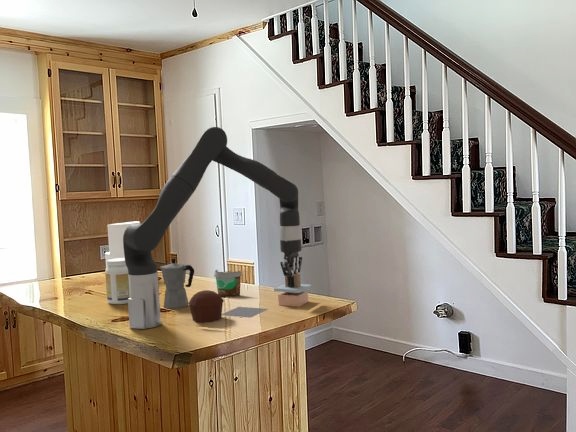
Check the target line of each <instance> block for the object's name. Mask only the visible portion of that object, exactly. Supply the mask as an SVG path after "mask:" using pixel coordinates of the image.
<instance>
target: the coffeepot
mask: <svg viewBox="0 0 576 432" xmlns="http://www.w3.org/2000/svg"><path fill="white" fill-rule="evenodd" d="M170 260H171V263H169V264H165V265H162V266H159V267H158V268H159V269H160V270H161V273H162V278H163V284H164V286H165V291H164V301H163V307H164V308H165V309H169V310H173V309H175V310H176V309H182V308H183V309H184V308H186V307H188V306H189V299H188V296H187V295H188V294H187V291H186V288H190V287H191V286H192V282H193V277H194V275H195V269H194V268H193V266H192V265H191V264H181V263H176V258H173V257H172V258H170ZM187 271H189V273H188V274H189V275H188V280H187V281H188V282H187V284H185V283H186V274H187V273H186V272H187ZM185 287H186V288H185Z"/></svg>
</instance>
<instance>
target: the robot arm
mask: <svg viewBox="0 0 576 432" xmlns="http://www.w3.org/2000/svg"><path fill="white" fill-rule="evenodd" d="M212 161H213V162H215V163H218V164H219V165H222V166H224V167H226V168H229V169H230V170H232V171H234V172H236V173H238V174H240V175H242V176H243V177H245V178H247V179H249V180H250V181H252V182H253V183H254V184H256V185H258V186H260V187H261V188H263V189H264V190H266V191H268V192H270V193H271V194H272V195H274V196H275V197H277V198H278V199H279V226H280V227H279V243H280V244H279V245H280V246H279V247H280V248H279V249H280V252H281V253H284V255H283V256H284V257H283V261H280V267H281V270H282V274H283V276H284V277H285V276H287V277H288V287H294V274H300V273H301V268H302V264H303V263H302V262H303V256H299V253H300V252H302V250H303V249H302V232H301V230H302V229H301V221H300V213H299V189H298V187H297V185H296V184H295V183H293V182H291V181H290V180H288V179H286V178H284V177H283V176H281V175H279V174H278V173H277V172H275V171H274V169H271V168H270V167H268V166H266V165H265V164H263V163H262V162H259V161H257V160H254V159H251V158H247V157H245V156H242V155H240V154H238V153H235V152H234V151H233V150H232V149H230V148H229V147H228V136H227V133H226V131H225V130H224V129H223V128H221V127H219V126H210V127H209V128H207V129H205V130H204V131H203V132H202V134H201V135H200V137H199V139H198V141H197V142H196V144H195V145H194V147H193V149H191V152H190V154H189V155H188V156H187V157H185V159H184V160H183V162H182V163H181V164H180V165H179V166H178V167H177V168H176V169H175V171H174V172H173V174H171V176H170V177H169V179H168V180H167V181H166V182H165V184H164V185H163V186H162V188H161V190H160V193H159V196H158V199H157V203H156V205H155V207H154V209H153V210H152V212H151V213H150V214H149V215H148V217H147V218H146V219H145V220H144V221H143V222H142V223H141V222H140V223H136V224H132V225H130V226H128V227H127V228H126V230H125V232H124V235H123V247H124V256H125V263H126V266H127V268H128V276H129V292H130V298H129V299H128V303H127V307H128V308H127V309H128V321H129V322H128V323H129V328H130V329H138V330H146V329H149V328H150V329H151V328H155V327H158V326H160V325H161V324H162V319H161V306H160V305H161V304H160V291H159V289H160V286H159V275H158V274H159V273H158V264H157V262H156V261H155V260H154V258H153V256H152V251H153V250H155V249H156V248H157V247H158V246H159V244H160V242H161V240H162V239H163V237H164V235H165V234H166V232H167V230H168V228H169V226H170V225H171V224H172V222H173V221H174V219H175V218H176V217H177V216H178V215H179V214H178V213H180V211H181V210H182V209H183V208H184V206H185V204H186V203H187V202H188V201H189V199H190V198H191V197H192V196H193V194H194V193H195V191H196V189H197V188H198V186H199V184H200V183H201V180H202V178H203V177H204V174H205V173H206V170H207V168H208V166H209V165H210V164H211V163H212Z"/></svg>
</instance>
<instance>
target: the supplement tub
mask: <svg viewBox="0 0 576 432" xmlns="http://www.w3.org/2000/svg"><path fill="white" fill-rule="evenodd" d="M107 265H108V267H107V268H106V267H105V271H104V273H105V287H106V300H107V303H109V304H110V305H124V304H125V305H128V299H129V298H130V292H129V276H128V268H127V266H126V263H125V258H116V259H110V260H107Z"/></svg>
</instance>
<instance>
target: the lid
mask: <svg viewBox="0 0 576 432" xmlns="http://www.w3.org/2000/svg"><path fill="white" fill-rule="evenodd" d="M311 288H312V284H307V283H306V284H305V283H301V274H300V273H298V274H294V287H288V277H287V276H284V283H283V284H282V285H279V286H276V287H275V288H273V292H280V293H283V292H292V293H301V292H303V291H307V290H309V289H311Z"/></svg>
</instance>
